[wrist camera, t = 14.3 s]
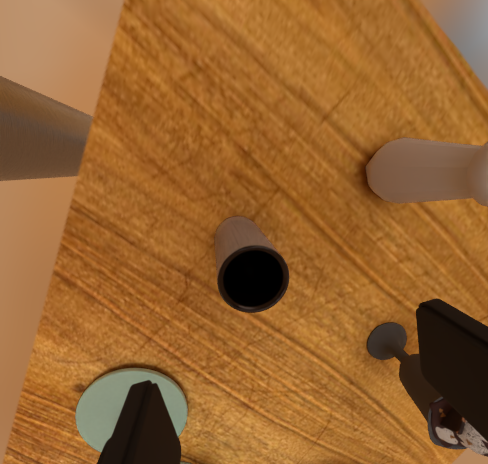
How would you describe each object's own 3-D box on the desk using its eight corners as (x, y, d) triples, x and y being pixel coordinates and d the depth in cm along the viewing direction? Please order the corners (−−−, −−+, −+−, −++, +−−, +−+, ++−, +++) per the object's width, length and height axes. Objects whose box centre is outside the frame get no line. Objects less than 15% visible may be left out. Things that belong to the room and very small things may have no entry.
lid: (59, 424, 29) (25, 484, 23) (116, 345, 28) (93, 389, 22) (152, 462, 32) (140, 523, 26) (208, 391, 30) (207, 440, 25)
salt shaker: (418, 182, 27) (594, 194, 15) (370, 210, 28) (504, 246, 15) (399, 129, 26) (577, 92, 13) (348, 158, 26) (477, 150, 13)
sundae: (417, 352, 33) (583, 499, 18) (367, 372, 32) (494, 538, 18) (408, 307, 31) (582, 429, 16) (354, 328, 31) (483, 471, 16)
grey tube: (211, 218, 26) (212, 250, 16) (258, 213, 26) (287, 240, 16) (217, 262, 27) (221, 318, 17) (261, 256, 27) (291, 308, 17)
